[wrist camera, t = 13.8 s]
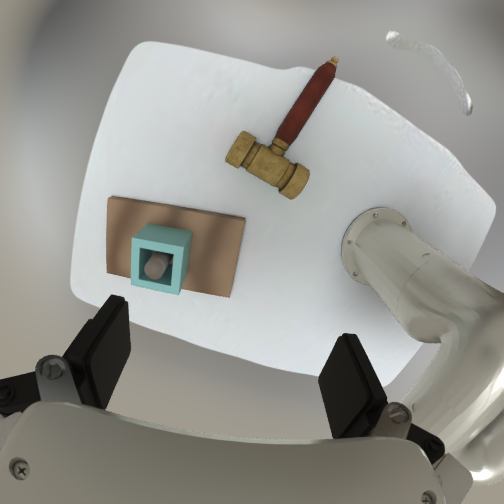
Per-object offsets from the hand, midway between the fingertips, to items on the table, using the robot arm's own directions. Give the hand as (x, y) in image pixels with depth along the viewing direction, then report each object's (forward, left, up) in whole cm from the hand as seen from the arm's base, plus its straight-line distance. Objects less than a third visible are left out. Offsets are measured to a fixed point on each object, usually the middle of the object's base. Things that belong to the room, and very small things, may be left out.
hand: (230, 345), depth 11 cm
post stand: (+9, +8, -28) cm, 31 cm away
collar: (+9, +8, -27) cm, 29 cm away
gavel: (-5, -14, -29) cm, 32 cm away
